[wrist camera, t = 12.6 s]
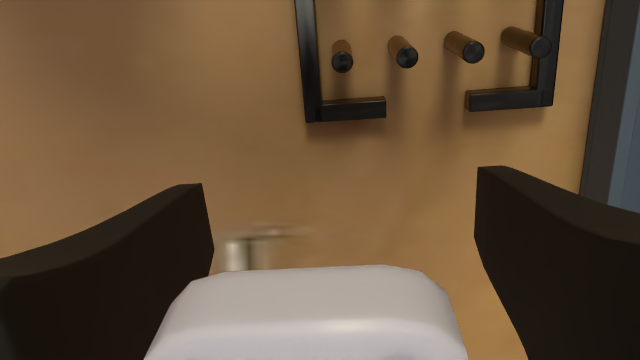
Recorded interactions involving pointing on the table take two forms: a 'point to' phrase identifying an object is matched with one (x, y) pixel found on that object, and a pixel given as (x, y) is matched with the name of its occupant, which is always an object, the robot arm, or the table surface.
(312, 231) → the table surface
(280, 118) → the table surface
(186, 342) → the robot arm
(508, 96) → the rack
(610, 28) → the tray
